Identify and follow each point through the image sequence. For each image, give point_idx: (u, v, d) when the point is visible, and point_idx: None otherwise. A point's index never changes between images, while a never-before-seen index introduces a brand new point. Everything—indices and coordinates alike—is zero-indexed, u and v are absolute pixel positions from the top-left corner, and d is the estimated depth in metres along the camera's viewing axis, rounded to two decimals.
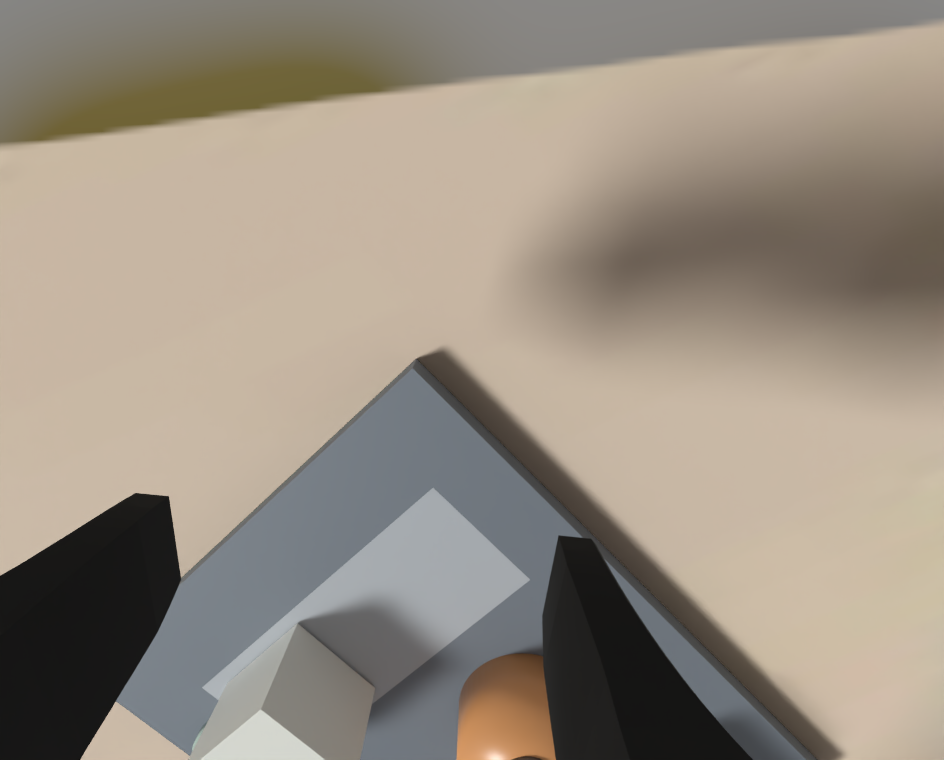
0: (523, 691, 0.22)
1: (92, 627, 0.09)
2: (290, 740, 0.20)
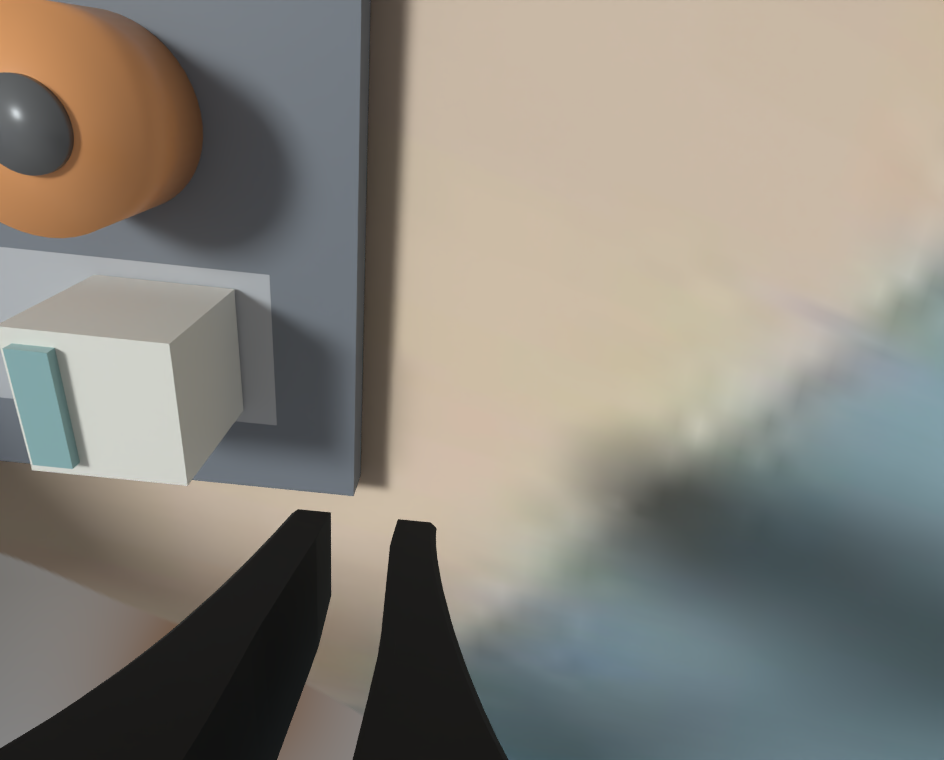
0: (121, 39, 0.14)
1: (285, 646, 0.09)
2: None
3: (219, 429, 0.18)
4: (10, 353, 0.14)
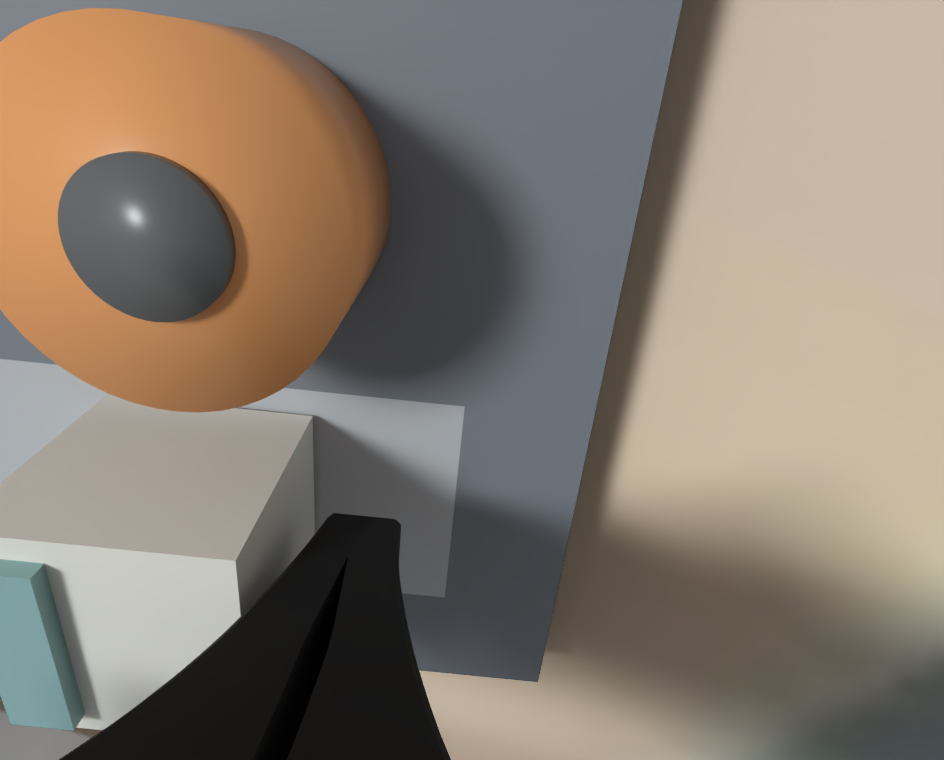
0: (310, 86, 0.08)
1: None
2: None
3: None
4: None
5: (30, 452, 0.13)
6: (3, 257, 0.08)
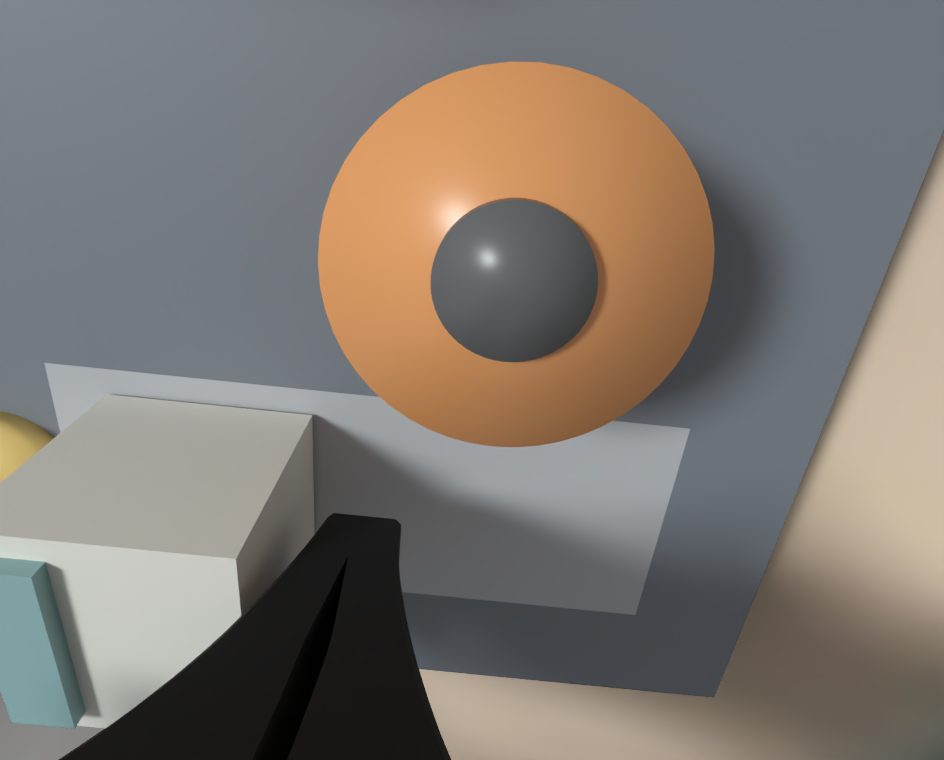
0: None
1: None
2: None
3: None
4: None
5: None
6: (359, 299, 0.08)
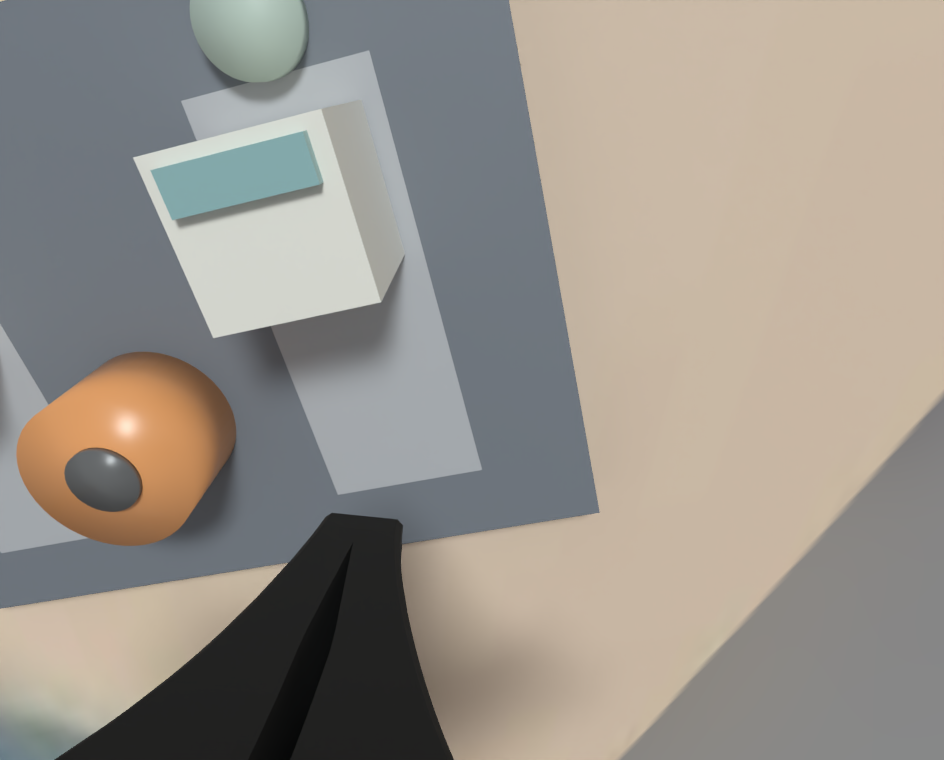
0: (209, 484, 0.19)
1: (325, 650, 0.09)
2: (315, 305, 0.14)
3: None
4: None
5: None
6: (56, 423, 0.16)
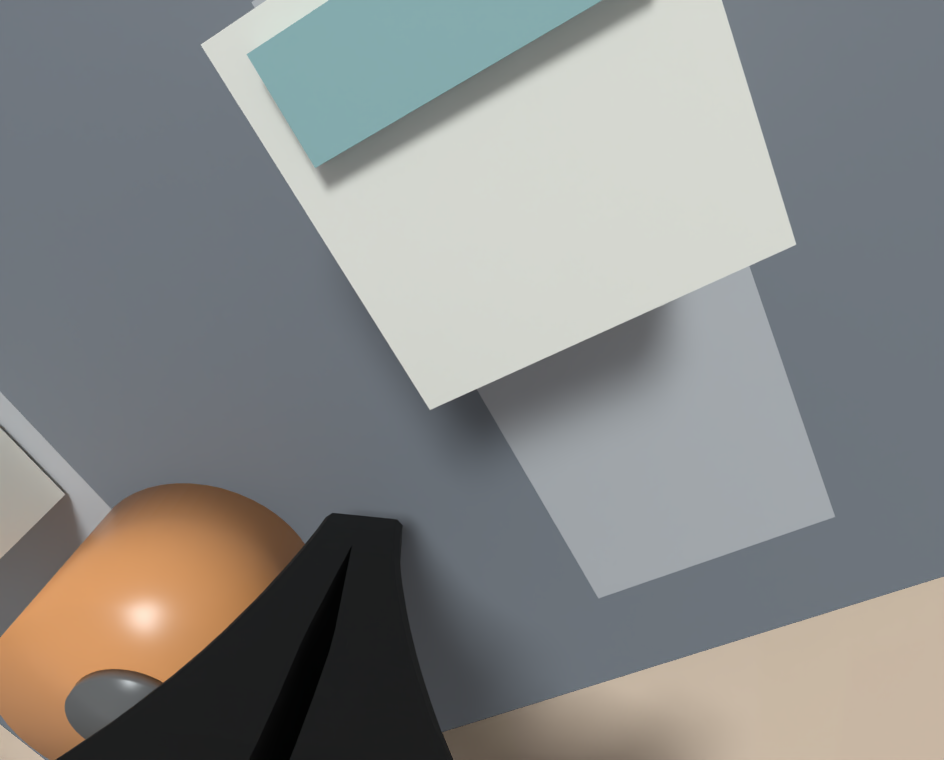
0: None
1: (326, 650, 0.09)
2: (643, 289, 0.06)
3: None
4: None
5: None
6: (33, 646, 0.10)
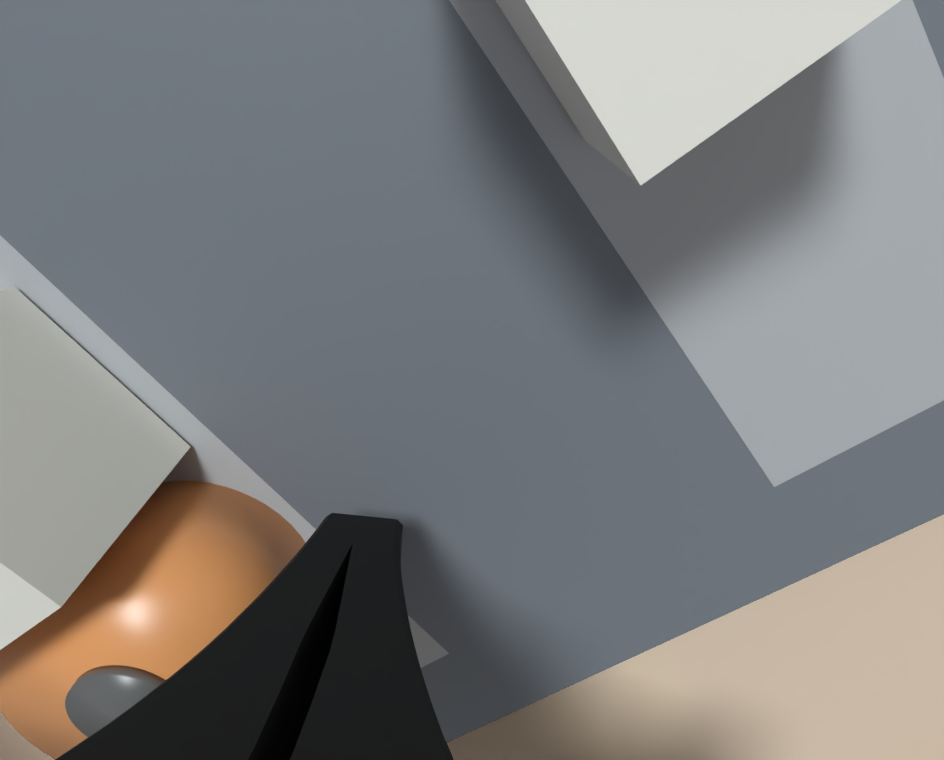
0: None
1: (326, 650, 0.09)
2: None
3: None
4: None
5: None
6: (26, 649, 0.10)
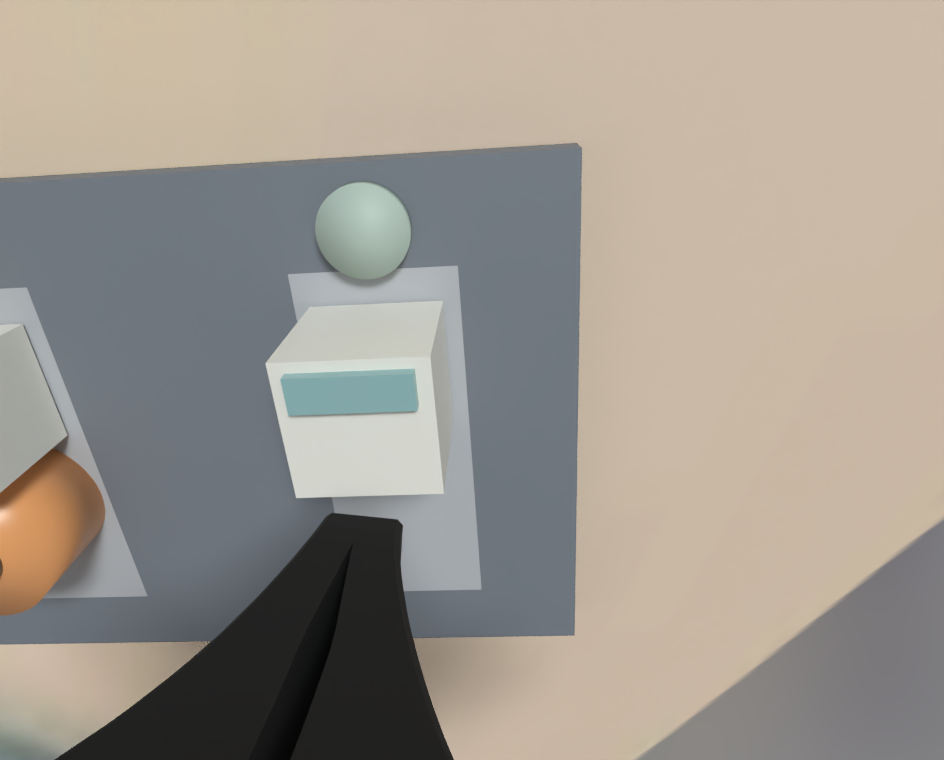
0: (66, 569, 0.21)
1: (326, 650, 0.09)
2: (388, 487, 0.17)
3: None
4: None
5: None
6: None
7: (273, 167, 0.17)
